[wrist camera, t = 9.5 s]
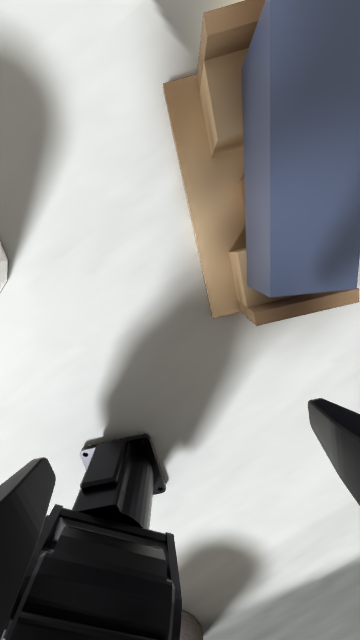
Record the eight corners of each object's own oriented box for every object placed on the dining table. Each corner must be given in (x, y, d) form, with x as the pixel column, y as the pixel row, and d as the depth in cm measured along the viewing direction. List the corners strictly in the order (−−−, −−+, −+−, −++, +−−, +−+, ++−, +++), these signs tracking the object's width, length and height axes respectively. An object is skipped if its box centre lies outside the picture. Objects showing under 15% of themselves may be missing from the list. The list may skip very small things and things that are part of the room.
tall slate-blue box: (311, 279, 15) (356, 288, 12) (247, 285, 15) (270, 297, 12) (321, 59, 12) (385, -26, 9) (241, 68, 12) (269, -13, 9)
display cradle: (322, 45, 15) (391, -51, 10) (339, 285, 19) (394, 297, 14) (163, 92, 16) (157, 20, 11) (212, 315, 20) (223, 336, 15)
